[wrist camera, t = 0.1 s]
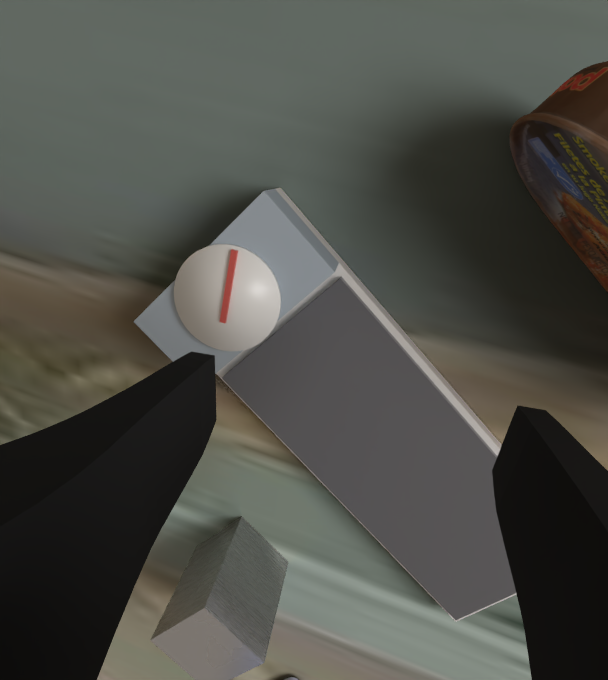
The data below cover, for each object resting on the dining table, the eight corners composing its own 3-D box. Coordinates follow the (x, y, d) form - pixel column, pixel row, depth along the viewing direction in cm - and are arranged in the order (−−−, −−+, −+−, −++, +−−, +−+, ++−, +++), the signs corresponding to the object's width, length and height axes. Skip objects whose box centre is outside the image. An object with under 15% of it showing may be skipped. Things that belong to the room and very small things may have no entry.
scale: (452, 604, 26) (462, 664, 23) (161, 299, 23) (124, 321, 19) (585, 542, 23) (617, 601, 20) (277, 184, 20) (257, 186, 17)
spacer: (242, 589, 28) (207, 690, 23) (196, 546, 28) (150, 640, 22) (288, 561, 27) (264, 662, 22) (241, 515, 26) (204, 607, 21)
